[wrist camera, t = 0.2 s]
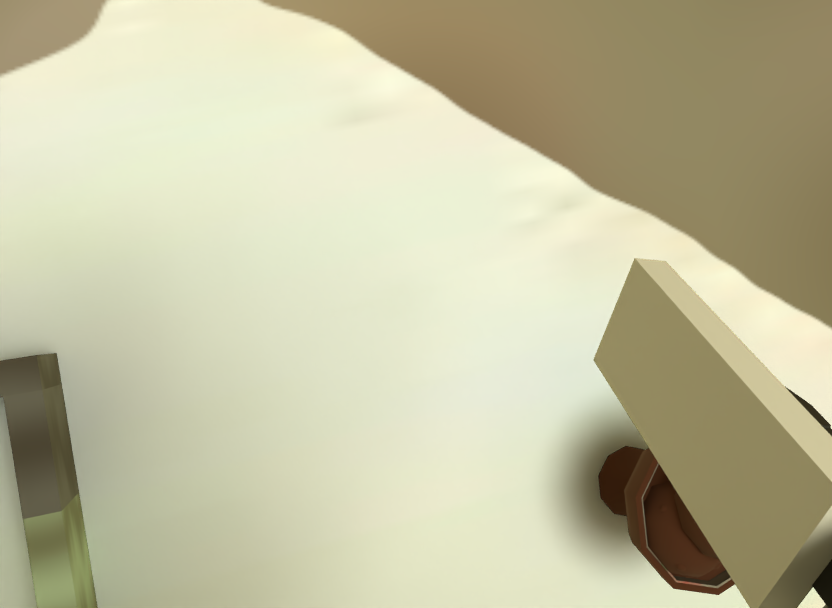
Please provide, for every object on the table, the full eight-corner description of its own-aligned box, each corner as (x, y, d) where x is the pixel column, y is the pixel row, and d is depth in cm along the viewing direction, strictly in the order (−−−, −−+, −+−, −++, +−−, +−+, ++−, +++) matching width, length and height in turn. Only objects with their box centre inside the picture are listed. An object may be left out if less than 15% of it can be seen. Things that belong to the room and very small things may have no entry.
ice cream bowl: (576, 565, 54) (705, 649, 40) (561, 419, 54) (684, 450, 40) (694, 540, 57) (856, 609, 42) (680, 401, 57) (835, 424, 43)
